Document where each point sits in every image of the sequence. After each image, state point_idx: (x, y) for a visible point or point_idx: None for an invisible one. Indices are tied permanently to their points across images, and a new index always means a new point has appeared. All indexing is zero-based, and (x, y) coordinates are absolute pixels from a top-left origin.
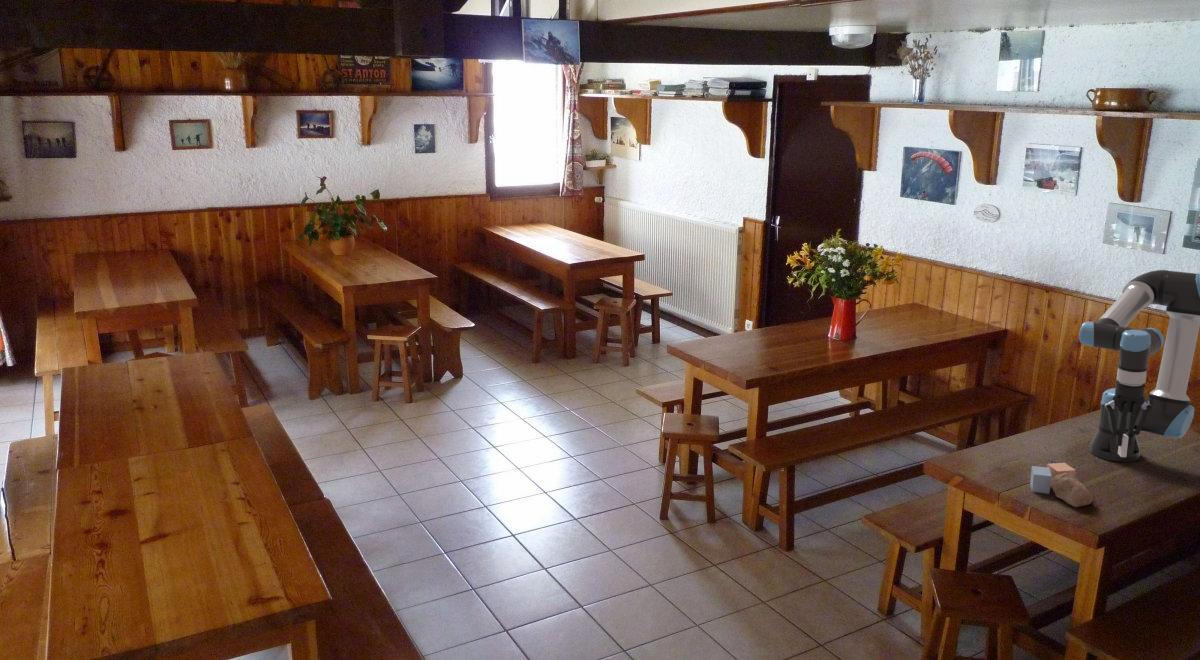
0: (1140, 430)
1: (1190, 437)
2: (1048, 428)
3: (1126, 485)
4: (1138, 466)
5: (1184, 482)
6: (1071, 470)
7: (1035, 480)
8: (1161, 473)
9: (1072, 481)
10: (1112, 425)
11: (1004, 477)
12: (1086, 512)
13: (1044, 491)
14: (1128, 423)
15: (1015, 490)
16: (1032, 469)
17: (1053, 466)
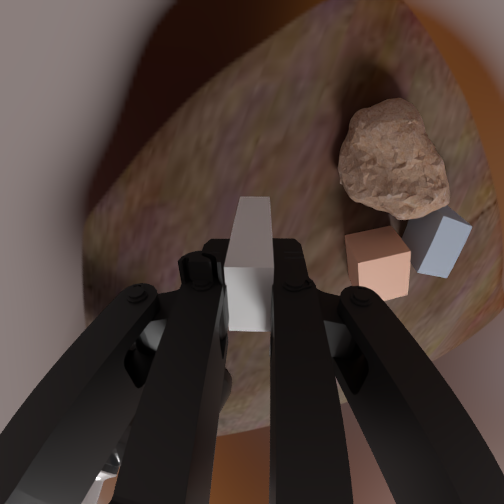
0: (102, 313)
1: None
2: (267, 425)
3: None
4: None
5: (90, 277)
6: (370, 260)
7: (459, 217)
8: None
9: (428, 152)
10: (423, 360)
11: (454, 273)
12: (376, 78)
13: None
14: (210, 407)
15: (470, 211)
16: (454, 260)
17: (402, 281)
